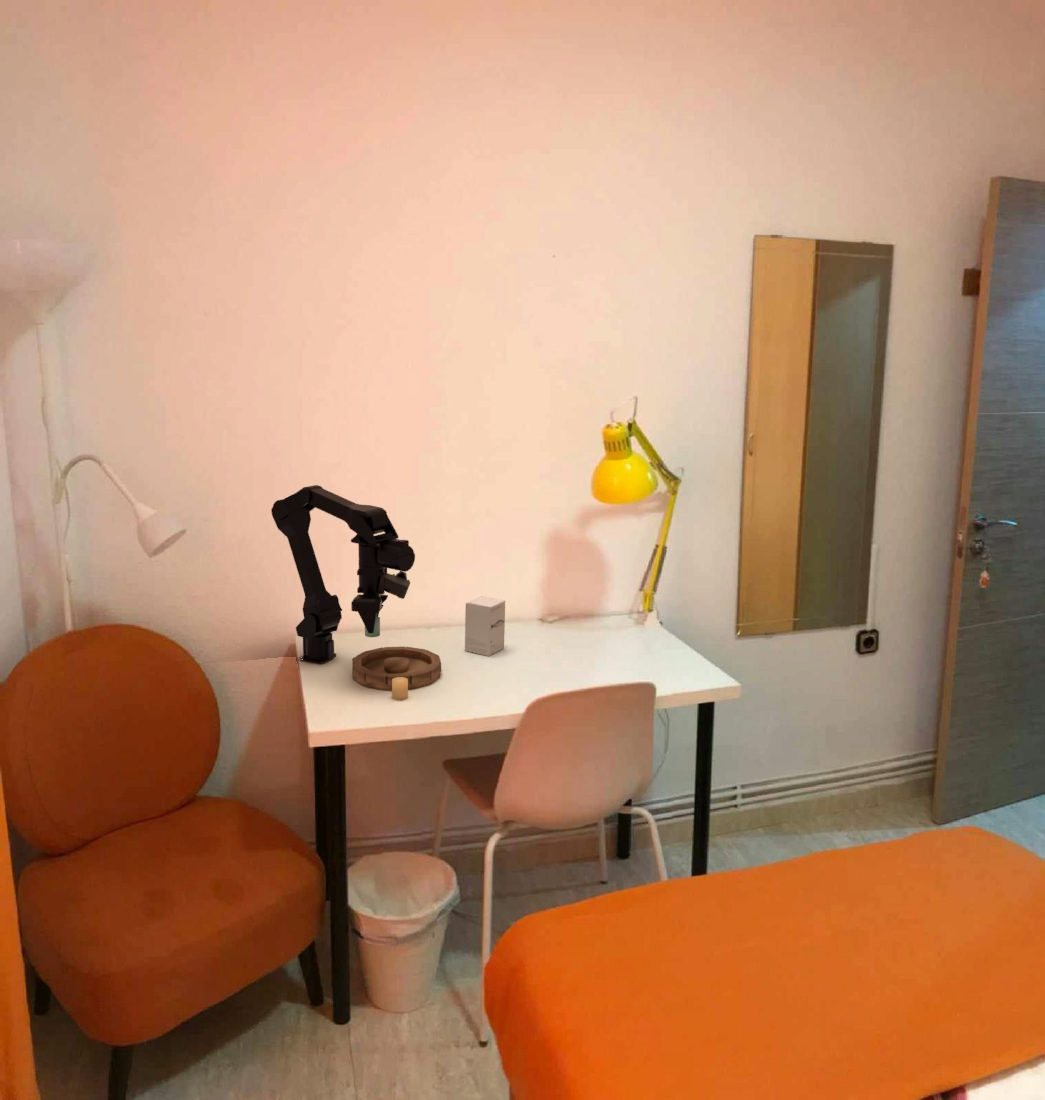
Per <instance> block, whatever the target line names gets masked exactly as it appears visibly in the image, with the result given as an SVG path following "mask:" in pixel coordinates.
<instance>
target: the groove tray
mask: <svg viewBox="0 0 1045 1100" xmlns="http://www.w3.org/2000/svg"><path fill="white" fill-rule="evenodd" d="M351 662H352V665H351V666H352V669H351V670H352V678H353V680H354V681H355V682H356V683H357V684H359V685H361V686H363V687H365V688H368V689H373V690H374V689H375V690H381V691H392V679H393V678H396V677H405V678H407V679H408V691H409V690H414V689H420V688H423V687H427V686H429V685H431V684H433V683H435V682H436V681H438V680H439V678H440V676H441V672H442V661H441V658H440V655H438V654H436V653H434V652H432V651H430V650H429V649H428V650H427V649H426V648H425V649H424V648H420V647H412V646H384V647H383V646H382V647H378V648H374V649H369V650H366V651H362V652H361V653H359V654H357V655H356V656H355V657H353V658H352V659H351Z"/></svg>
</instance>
